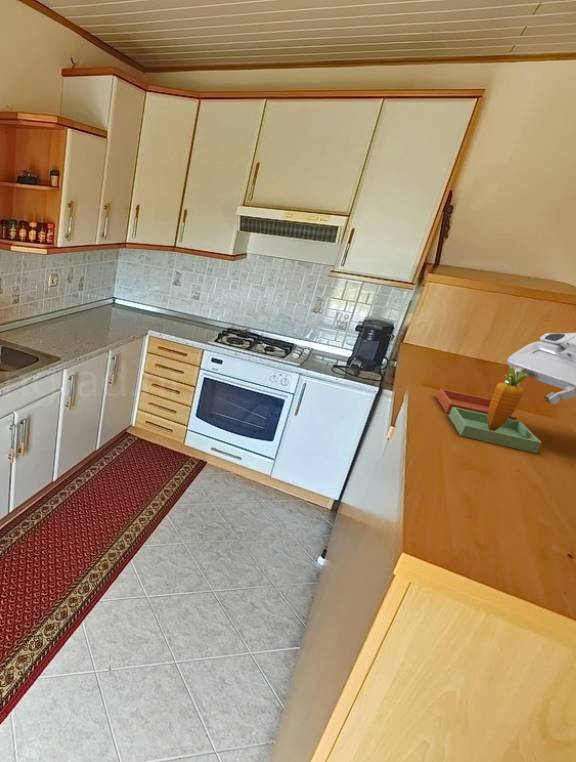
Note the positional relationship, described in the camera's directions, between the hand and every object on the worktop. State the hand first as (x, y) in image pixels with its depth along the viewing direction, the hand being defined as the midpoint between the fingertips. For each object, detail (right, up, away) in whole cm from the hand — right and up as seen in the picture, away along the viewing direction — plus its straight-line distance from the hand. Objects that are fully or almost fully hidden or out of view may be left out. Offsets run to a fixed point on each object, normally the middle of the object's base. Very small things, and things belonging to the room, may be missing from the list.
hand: (527, 392), depth 107 cm
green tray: (-5, -9, +3) cm, 11 cm away
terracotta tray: (+2, -5, +17) cm, 18 cm away
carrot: (-5, -9, +3) cm, 11 cm away
